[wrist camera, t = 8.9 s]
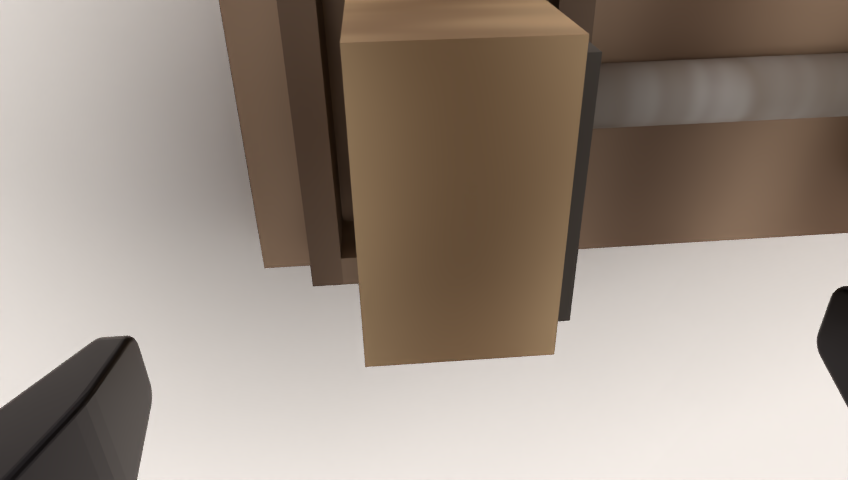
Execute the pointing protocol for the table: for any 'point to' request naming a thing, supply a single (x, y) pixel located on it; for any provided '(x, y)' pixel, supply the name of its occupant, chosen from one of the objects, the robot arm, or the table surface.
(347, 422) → the table surface
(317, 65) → the rail
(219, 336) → the table surface
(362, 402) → the table surface
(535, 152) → the tan wooden block
